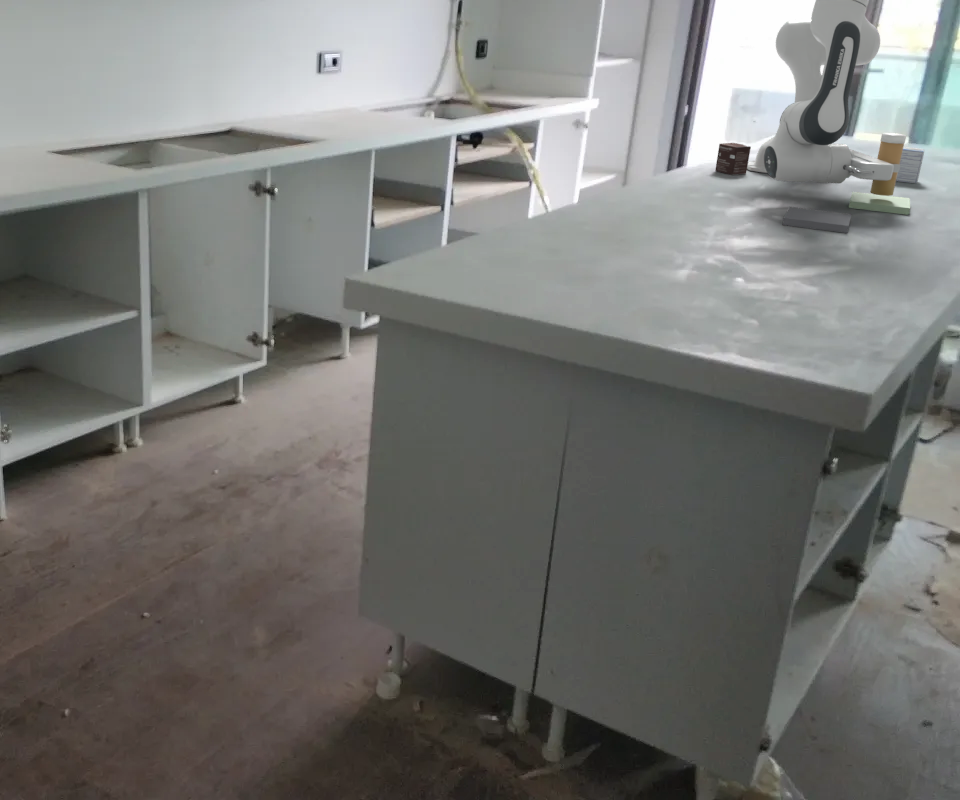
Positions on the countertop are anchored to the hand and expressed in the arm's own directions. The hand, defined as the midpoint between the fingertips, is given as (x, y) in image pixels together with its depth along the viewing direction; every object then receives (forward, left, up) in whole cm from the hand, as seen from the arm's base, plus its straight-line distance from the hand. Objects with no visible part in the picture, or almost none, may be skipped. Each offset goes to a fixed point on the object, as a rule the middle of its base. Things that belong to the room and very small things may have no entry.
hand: (891, 165), depth 224 cm
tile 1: (-13, -28, -9) cm, 33 cm away
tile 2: (-1, 0, -9) cm, 10 cm away
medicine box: (+4, +41, -10) cm, 42 cm away
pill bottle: (-1, 0, -6) cm, 7 cm away
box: (-39, +24, -10) cm, 46 cm away
